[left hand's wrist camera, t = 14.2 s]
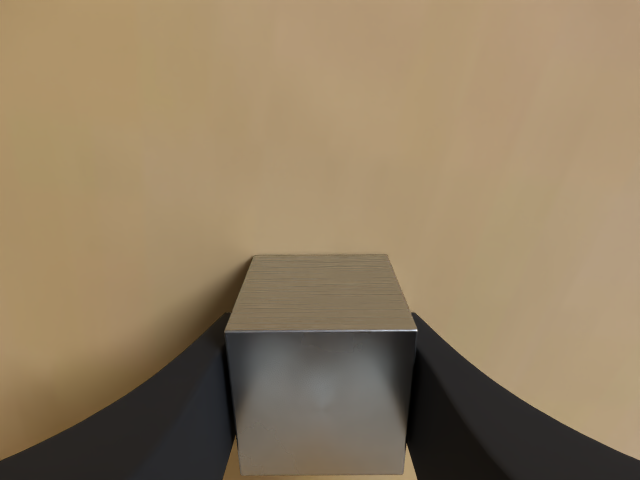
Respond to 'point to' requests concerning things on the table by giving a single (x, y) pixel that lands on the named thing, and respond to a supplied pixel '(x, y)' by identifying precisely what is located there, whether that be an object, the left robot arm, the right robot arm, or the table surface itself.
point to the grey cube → (321, 366)
